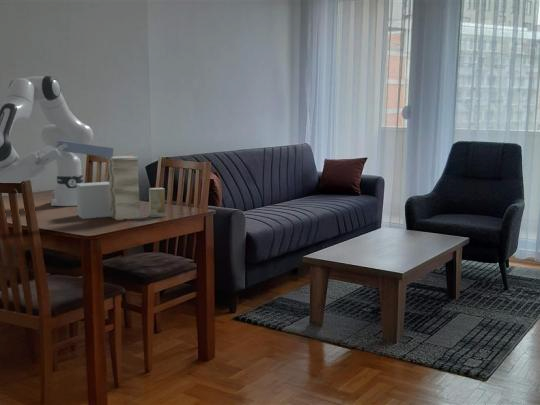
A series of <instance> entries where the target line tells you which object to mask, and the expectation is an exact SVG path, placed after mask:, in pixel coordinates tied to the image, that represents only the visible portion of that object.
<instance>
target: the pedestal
mask: <svg viewBox="0 0 540 405" xmlns="http://www.w3.org/2000/svg"><path fill="white" fill-rule="evenodd" d="M106 160H107V162H108V178H109V179H108V180H109V181H108V182H109V185H110V206H111V216H110V217H111V218H112V219H113V220H115V219H116V220H115V221H125V220H124V219H127V220H136V219H141V211H140V210H141V209H140V206H141V205H140V188H139V186H140V185H139V161H138V160H140V157H138V156H136V155H115V156H114V155H113V157H112V158H110V157H106Z"/></svg>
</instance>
